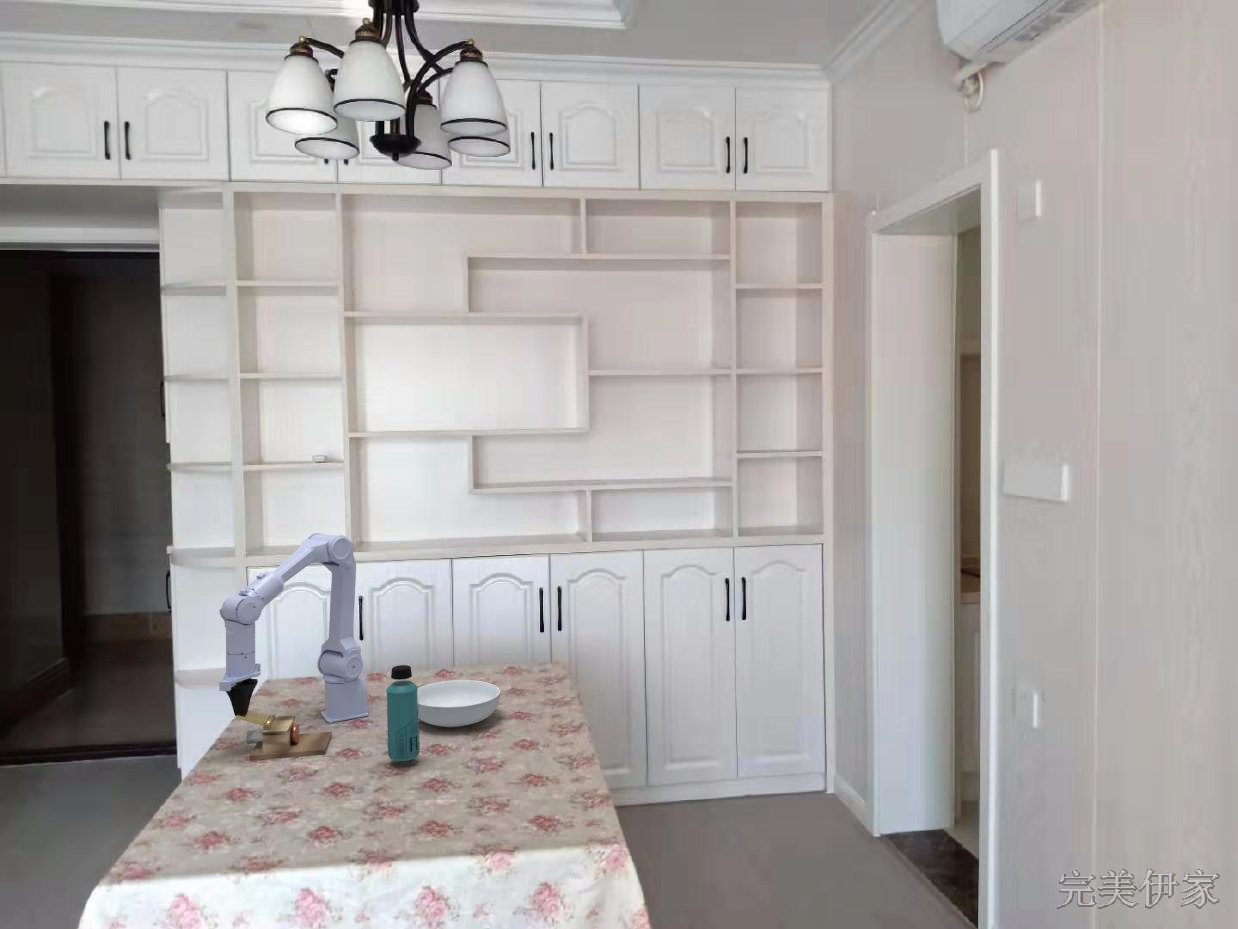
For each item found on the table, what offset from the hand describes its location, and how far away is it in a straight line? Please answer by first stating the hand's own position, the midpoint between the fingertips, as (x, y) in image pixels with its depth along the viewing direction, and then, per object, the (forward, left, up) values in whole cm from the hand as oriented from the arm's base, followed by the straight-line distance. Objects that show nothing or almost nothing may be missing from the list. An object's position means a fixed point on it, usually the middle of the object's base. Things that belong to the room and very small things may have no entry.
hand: (240, 715), depth 183 cm
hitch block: (-10, +3, -8) cm, 13 cm away
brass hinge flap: (-3, +1, -1) cm, 3 cm away
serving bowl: (-46, +6, -8) cm, 47 cm away
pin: (-6, +2, -7) cm, 9 cm away
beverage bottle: (-28, +24, -8) cm, 38 cm away
